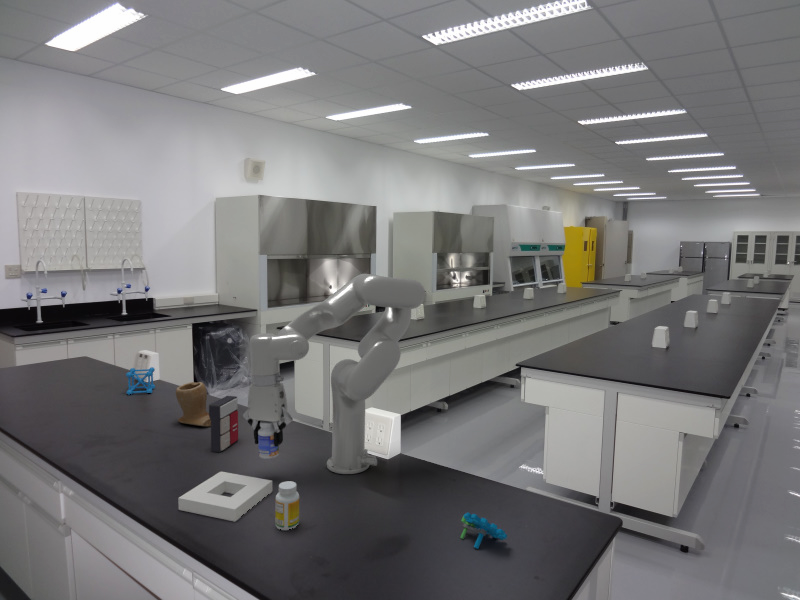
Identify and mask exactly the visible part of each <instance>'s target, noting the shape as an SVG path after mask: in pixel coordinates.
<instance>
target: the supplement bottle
mask: <svg viewBox="0 0 800 600" xmlns="http://www.w3.org/2000/svg"><path fill="white" fill-rule="evenodd" d="M297 488H298V487H297V483H296V481H295V482H294V481H291V480H290V481H288V480H287V481H282V482H280V483H279V484H278V492H277V494H276V495H275V508H274V509H275V512H274V513H275V516H274V517H275V519H274V520H275V521H274V523H275V528H276V529H278V530H280V529H281V531H290V530H289V529H291V530H293V529H296V528H297V527H298V526H297V525H299V524H300V494H299V492H298V491H297ZM296 526H297V527H296ZM292 528H293V529H292Z"/></svg>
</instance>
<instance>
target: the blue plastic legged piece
mask: <svg viewBox="0 0 800 600" xmlns="http://www.w3.org/2000/svg"><path fill="white" fill-rule="evenodd" d="M461 523H462V524H463V525H462V528H463V531H462V533H461V534H460V539H461V540H464V539H465V536H466V534H467V533H468V532H467V531H470V532H473V533H475V534H478V536H477V538H476V540H475V542H474V545H473V548H474V549H476V550H479V547H480V545H481V543H482V541H483V538H484V537H486V535H489V536H491V537H492V538H494V539H499V540H501V541H503V540H507V538H508V535H507V534H506V531H504V529H501V528H498V525H496V524H495V523H494V522H492V523H489V521H488V519H487V518H485V517H479V516H478V515H477V514H476V513H470V512H469V511H468V512H467V511H466V513H464V515H462V518H461Z"/></svg>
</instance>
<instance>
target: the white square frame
mask: <svg viewBox="0 0 800 600" xmlns="http://www.w3.org/2000/svg"><path fill="white" fill-rule="evenodd" d="M272 492H273V480H270V479H265V478H259V477H255V476H248V475H242V474H239V473H231V472H225V471H219V472H217V473H216V474H214V475H213V476H211V477H209V478H208V479H206V480H205V481H202V483H200V484H198V485H197V486H195V487H193V488H192V489H190V490H188V491H187V492H185V493H184V494H183V495H181V496H179V497H178V499H177V500H178V503H177V504H178V510H179V511H184V512H187V513H188V512H189V513H192V514H198V515H201V516H207V517H212V518H217V519H221V520H225V521H230V522H234V523H235V522H237V521H238V520H239V519H240V518H242V517H243V516H244V515H245V514H247V513H248V512H249V511H250V510H252V509H253V508H254V507H255V506H256V505H258V504H259V503H260V502H262V501H263V500H264V499H265V498H267V495H268V494H269V495H270V494H271V493H272ZM224 493H228V494H231V496H225V495H223V494H224ZM269 495H268V496H269ZM264 497H265V498H264ZM263 498H264V499H263ZM262 499H263V500H262ZM259 501H260V502H259ZM258 502H259V503H258ZM257 503H258V504H257ZM254 505H255V506H254ZM253 506H254V507H253ZM252 507H253V508H252ZM249 509H250V510H249ZM248 510H249V511H248ZM247 511H248V512H247ZM243 514H244V515H243ZM242 515H243V516H242ZM241 516H242V517H241Z"/></svg>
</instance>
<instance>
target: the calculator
mask: <svg viewBox="0 0 800 600" xmlns="http://www.w3.org/2000/svg"><path fill="white" fill-rule="evenodd" d="M208 413H209V417H210V419H211V426H210V446H211V448H210V451H211V452H212V453H221V452H223V451H224V450H226V449H227V448H228V447H230V446H231V445H233V444H235V443H236V442H237V441H238V440H239V410H238V396H234V395H226V396H224V397H222V398H219V399H218V400H216V401H214V402H211V403H210V404H209V405H208Z"/></svg>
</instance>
